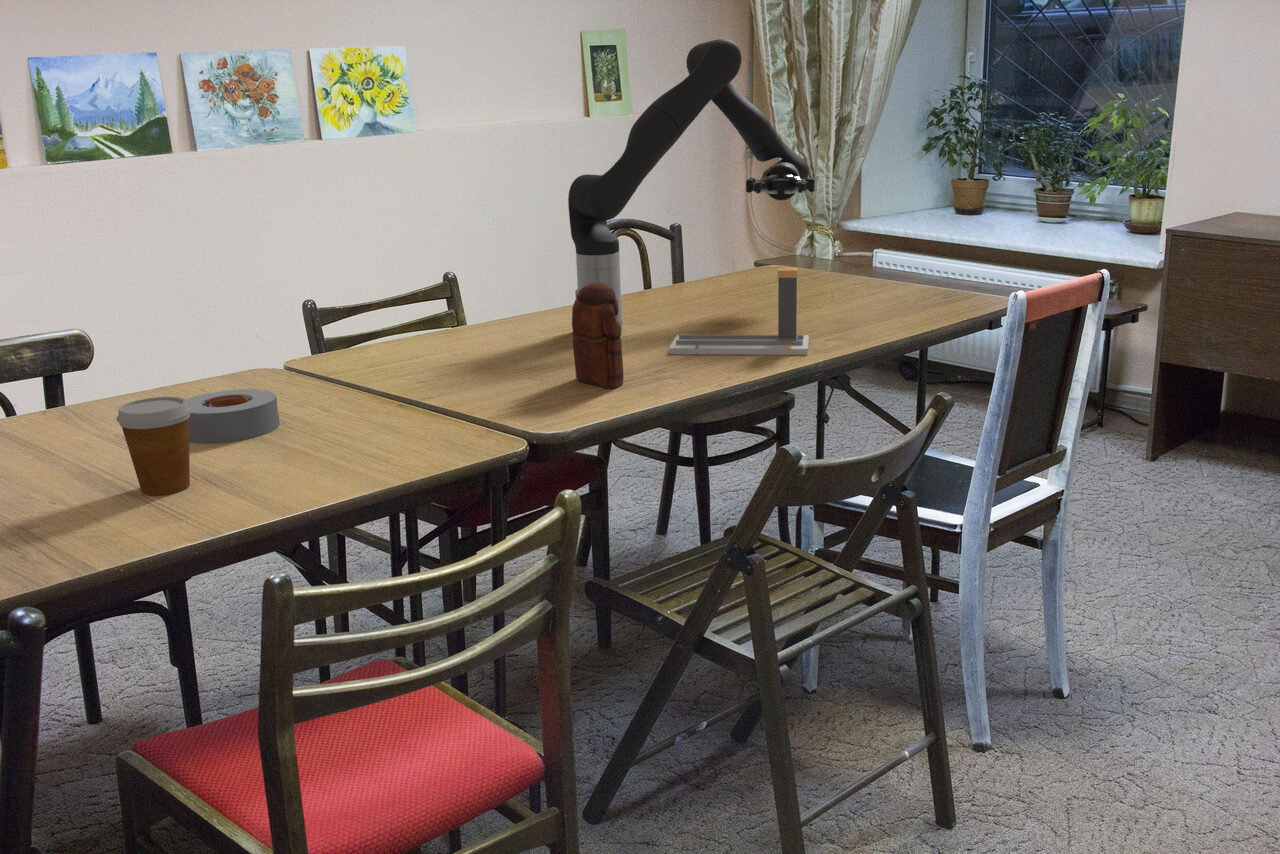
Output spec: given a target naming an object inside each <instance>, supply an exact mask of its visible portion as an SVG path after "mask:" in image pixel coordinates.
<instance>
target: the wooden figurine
mask: <svg viewBox="0 0 1280 854" xmlns="http://www.w3.org/2000/svg"><path fill="white" fill-rule="evenodd" d="M618 311H619V309H618V300H617V298H616V295H615V291H614V290H613V288H612V287H611V286H609V285H607V284H604V283H591V284H588V285H586V286H584V287H583V288H582V289H581V290H580V291H579V293H578V295H577V299H576V298H575V300H574V302H573V305H572V313H571V314H572V315H571V329H572V349H573V350H572V351H573V361H574V367H575V368H574V369H575V379H576V380H578V381H579V382H582V383H585V384H590V385H594V386H598V387H602V388H605V389H616V388H618V387H620V386H622V385H623V384H624V378H625V377H624V362H623V347H622V346H623V345H622V344H623V343H622V338H621V337H622V332H621V325H620V323H619V322H617V321H616V318H615V316H617V314H618Z"/></svg>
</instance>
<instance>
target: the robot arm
mask: <svg viewBox="0 0 1280 854" xmlns="http://www.w3.org/2000/svg"><path fill="white" fill-rule="evenodd" d="M742 58H743V57H742V52H741V49H740V46H739V45H737V44H736V43H735V42H734V41H733V40H730V39H727V38H721V39H719V38H717V39H714V40H709V41H705V42H701V43H699V44H697V45H694V46H693V47H692V48H690V50H689V51H688V54H687V57H686V68H687V72H688V76H686V78H684V79H683V80H682V81H680V82H678V84H676V85H675V86H673V87H672V88H670V89H669V90H667V91H666V92H665V93H663V94H662V95H660V96H659V97H658V98H657V99H655V100H654V101H653V102H652V103H651V104H650V105H649V106H648V107H647V108H646V109H645V110H644V112H643V113H641V115H640V116H639V117H638V118H637V120H636V121H635V122H634V123H633V125H632V126H631V128H630V130H629V134H628V138H627V141H626V146H625V149H624V152H622V154H621V155H620V157H619V158H618V160H617V161H616V162H615V163H614V164H613V165H612V166H611V167H610V168H609V169H608V170H607V171H606V172H605V173H604V174H589V173H588V174H582V175H579V176H577V177H576V178H575V179H573V181H572V183H571V185H570V187H569V191H568V199H567V201H568V203H567V205H568V216H569V228H570V234H571V239H572V241H573V243H574V246H575V260H576V263H575V264H576V281H577V282H576V284H577V288H576V289H575V292H574V293H575V300H576V299H577V295H578V293H579V291H580V290H581V289H582V288H583V287H584V286H586V285H588V284H591V283H604V284H607V285H609V286H611V287H612V288H613V290H614V291H615V295H616V298H617V300H618V309H619V311H618V314H617V316H615V318H616V321H617V322H619V323H620V325H621V333H622V332H623V318H622V316H623V315H622V313H623V312H622V310H623V309H622V289H621V287H622V286H621V263H620V262H621V261H620V260H621V259H620V241H619V238H618V237H617V236H616V235H615V234H614V233H612V231H611V229H610V228H609V226H608V221H610V220H613V219H615V218H616V217H618V215H619V214H621V212H622V211H623V210H624V209H625V207H626V205H627V204H629V201H630V200H631V199H632V197H633V195H634V194H635V193H636V191H637V190H638V188H639V186H640V185H641V184H642V182H643V181H644V179H645V178H646V177H647V175H649V174H650V173H651V172H652V170H654V167H655V166H656V165H657V164H658V163H659V162H660V160H661V159H662V158H663V157H664V156H665V155H666V154H667V152H669V150H671V148H672V147H673V146H674V145H675V144H676V142H677V141H678V140H679V138H681V137H682V135H683V134H684V132H685V131H686V130H687V128H688V127H690V125H691V124H692V123H694V121H695V120H696V118H697V117H698V116H699V114H701V112H702V111H703V109H705V107H706V106H707V105H708V104H709V103H710V102H713V103H714V105H715V106H716V107H717V108H718V109H719V110H720V112H722V114H723V115H724V116H725V117H726V118H727V119H728V121H730V123H731V124H732V126H733V127H734V129H736V131H737V133H738V134H739V135H740V137H741V139H742V140H743V141H744V143H745V145H746V146H747V147H748V149H749V150H750V152H751V154H753V156H754V158H755V159H756V160H757V161H758V162H761V163H763V162H768V161H770V160H774V159H776V158H778V159H779V158H780V160H779V161H777V162H776V163H773V165H771V166H769V167H768V168H766V169H765V170H764V171H763V173H762V176H761V177H760V179H757V178H754V177H750V178H747V179H746V180H745V192H746V193H749V194H750V193H752V192H754V193H756V194H766V195H768V196H769V197H770V198H772V199H773V200H775V201H786V200H790V199H791V198H793V197H794V196H795V195H796V194H802V193H806V191H808V192H810V193H814V192H815V181H816V180H815V177H813V176H809V173H810V170H809V167H808V164H807V162H806V161H805V160H804V159H803V158H802V157H801V156H800V155H799V154H797V153H796V152H795V151H793V150H792V149H791V148H790V147H789V146H788V145H787V144H786V143H785V142H784V141H783V140H782V138H781V137H780V136H779V134H778V132H777V131H776V129H775V128H774V126H773V124H772V123H771V122H770V120H769V119H768V117H767V116H766V115H765V114H764V113H763V112H762V111H761V110H760V109H759V108H758V107H756V106H755V105H754V104H753V103H752V102H750V101H749V100H748V99H746V98H745V97H744V96H743V95H742V94H741V93H740V92H739V91H738V89H736V88H735V86H733V84H732V83H731V82H732V81H733V80H734V79H735V78H736V76H737V74H738V73H739V71H740V69H741V65H742V61H743V60H742Z"/></svg>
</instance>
